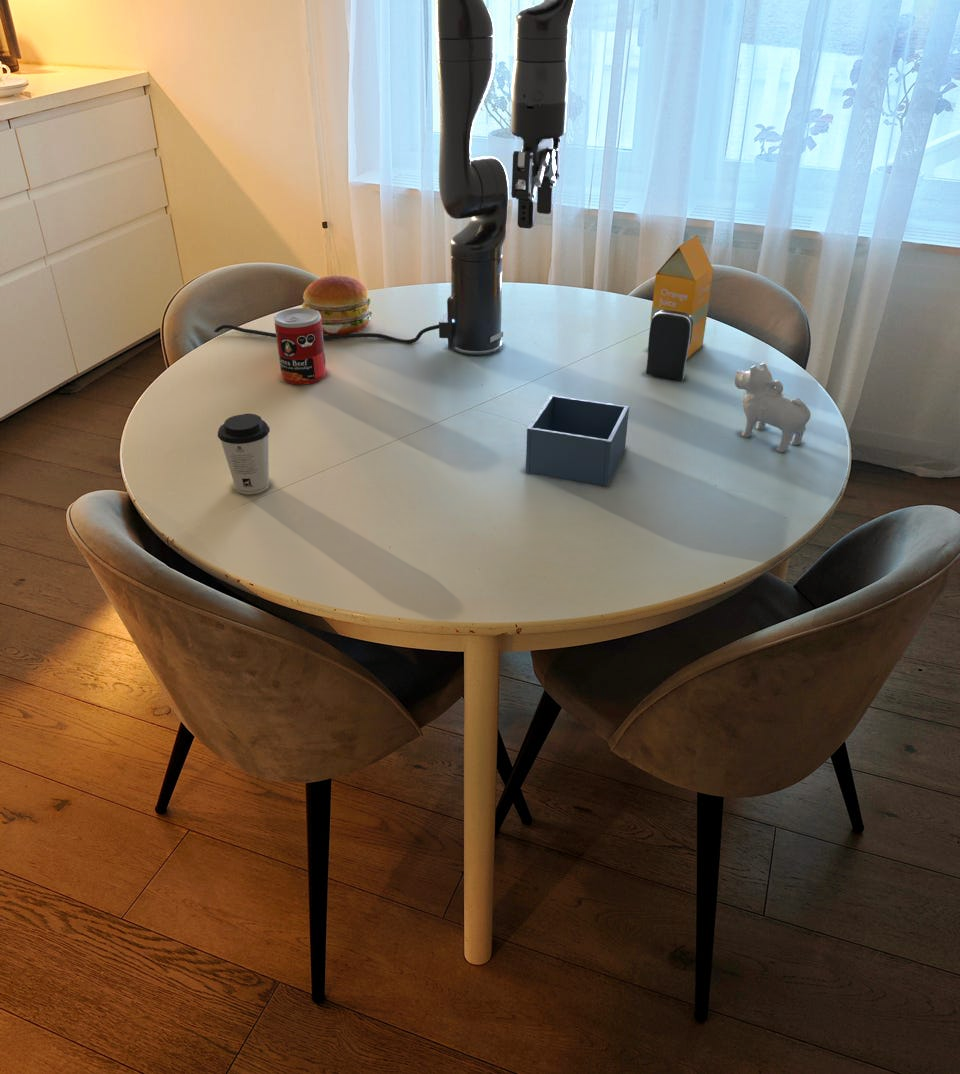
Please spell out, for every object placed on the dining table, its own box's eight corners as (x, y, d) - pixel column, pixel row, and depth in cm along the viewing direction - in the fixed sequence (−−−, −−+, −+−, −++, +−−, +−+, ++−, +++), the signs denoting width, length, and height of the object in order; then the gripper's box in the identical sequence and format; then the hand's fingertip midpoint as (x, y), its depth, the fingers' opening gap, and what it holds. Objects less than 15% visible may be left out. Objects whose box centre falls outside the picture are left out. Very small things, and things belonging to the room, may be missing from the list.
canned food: (273, 381, 157) (264, 320, 151) (297, 364, 163) (290, 305, 157) (311, 388, 155) (304, 326, 149) (334, 371, 161) (329, 311, 155)
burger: (368, 340, 173) (364, 289, 167) (297, 340, 173) (291, 289, 168) (376, 316, 184) (373, 267, 179) (309, 316, 184) (304, 267, 179)
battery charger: (688, 374, 160) (696, 311, 153) (682, 382, 157) (691, 318, 151) (649, 367, 162) (656, 305, 156) (643, 375, 159) (650, 312, 153)
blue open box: (526, 428, 127) (611, 441, 123) (550, 394, 136) (629, 406, 133) (525, 472, 130) (607, 486, 127) (548, 436, 140) (625, 448, 137)
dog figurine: (739, 417, 146) (750, 354, 140) (809, 445, 137) (823, 379, 132) (718, 427, 143) (729, 363, 137) (789, 456, 135) (803, 389, 129)
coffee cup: (253, 504, 123) (242, 438, 118) (216, 490, 126) (204, 425, 121) (287, 482, 128) (279, 418, 123) (251, 469, 131) (241, 406, 126)
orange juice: (703, 345, 171) (718, 237, 160) (686, 360, 165) (700, 249, 154) (664, 336, 175) (677, 231, 164) (646, 351, 169) (657, 242, 158)
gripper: (530, 89, 129) (526, 206, 138) (494, 103, 118) (493, 230, 127) (580, 91, 127) (574, 211, 136) (549, 106, 116) (544, 235, 125)
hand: (535, 220), depth 131 cm, fingers open, 8 cm apart
